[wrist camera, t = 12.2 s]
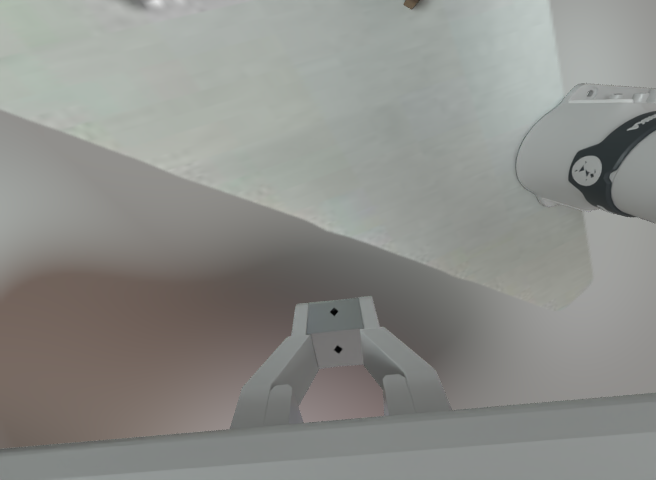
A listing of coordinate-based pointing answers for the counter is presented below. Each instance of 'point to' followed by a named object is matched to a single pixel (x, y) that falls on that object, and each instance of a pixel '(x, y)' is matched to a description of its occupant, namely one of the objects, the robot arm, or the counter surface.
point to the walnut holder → (410, 3)
